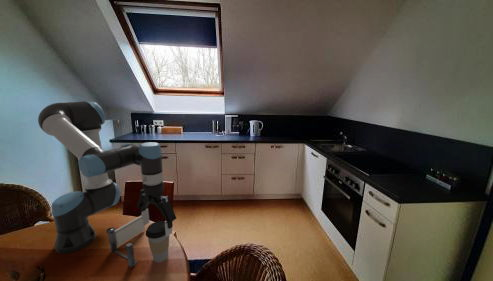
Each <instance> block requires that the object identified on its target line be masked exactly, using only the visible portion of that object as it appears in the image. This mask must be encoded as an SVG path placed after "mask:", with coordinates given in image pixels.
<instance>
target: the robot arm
mask: <svg viewBox="0 0 493 281" xmlns="http://www.w3.org/2000/svg"><path fill="white" fill-rule="evenodd" d="M103 110H104V109H102V107H101V106H100V104H98V103H97V102H95V101H85V100H83V101H72V102H71V101H70V102H69V101H68V102H56V103H50V104H48V105H47V106H45V107H44V108H43V109H42V110H41V111H40V112H39V115H38V119H37V123H38V125H39V127H40V129H41V130H42V131H43V132H44V133H45V134H46V135H48V136H51V137H54V138H55V139H56V140H58V141H59V143H60V144H62V145H63V146H64V147H65V149H67V150H68V151H69V152H70V153H72V154H73V156H75V157H76V158H77V159H78V164H77V165H78V168H79V171H81V174H82V175H83V176H84V177H86V180H87V183H86V185H85V186H84V190H85V192H82V191H80V190H76V191H71V192H67V193H65V194H63V195H60V196H58V197H57V198H56V199H55V200H54V201H52V203H51V215H52V217H53V221H54V225H55V229H56V237H55V240H54V250H55V252H56V253H58V254H63V255H65V254H71V253H74V252H77V251H79V250H82V249H85V248H86V247H88V246H90V245H91V244H92V243H93V242H94V241H95V240H96V238H97V237H96V236H97V235H96V231H95V229H94V227H93V226H92V225H91V223H90V222H89V217H90V216H94V215H95V214H97V213H100V212H103V211H104V210H107V209H110V208H111V207H112V206H114V205H117V204H118V202H119V201H120V198H121V190H120V188H119V185H118V184H117V183H116V182H113V180H112V179H111V178H109V176H108V173H110V172H113V171H115V170H119V169H123V168H126V167H128V166H132V165H136V166H140V171H141V172H140V173H141V178H142V189H140V191H139V193H140V195H139V197H138V202H137V205H136V208H137V209H139V211H140V216H141V215H142V221H143V225H144V227H145V226H146V225H148V224H149V223H150V213H149V207H148V206H150V204H152V205H154V206H155V207H156V208H158V210H159V212H160V213H161V214H162V217H163V218H164V220H165V221H164V222H165V232H166V236H169V237H170V235H171V234H173V222H174V221H175V220H177V215H176V213H175V211H174V209H173V207H172V204H171V201H170V196H169V195H166V196H164V194H163V192H164V190H165V186H164V184H165V183H164V171H163V160H162V157H163V156H162V155H163V153H162V147H161V145H160V143H158V142H154V141H153V142H151V141H149V142H147V141H146V142H142V143H141V144H136V143H129V142H128V143H124V144H122V145H121V146H119V147H118V148H113V149H110V150H104V148H103V146H102V142H101V137H100V131H102V129H103V128H102V126H103V124H105V123H106V115H105V113H104V111H103Z"/></svg>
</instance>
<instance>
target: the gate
mask: <svg viewBox="0 0 493 281" xmlns="http://www.w3.org/2000/svg"><path fill="white" fill-rule="evenodd" d="M144 231H146V228H145V226H144V225H143V221H142V215H141V214H140V215H139V216H137V217H136V218H133V219H132V220H130V221H128V222H127V223H125V224H123V225H121V226H120V227H118V228H117V229H116V228H115V231H114V233H115V240H116V246H117V248H118V247H120V246H121V245H123V244H125V243H126V242H127V241H129V240H131V239H132V238H134V237H136V236H138V234H140V233H142V232H144Z"/></svg>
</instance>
